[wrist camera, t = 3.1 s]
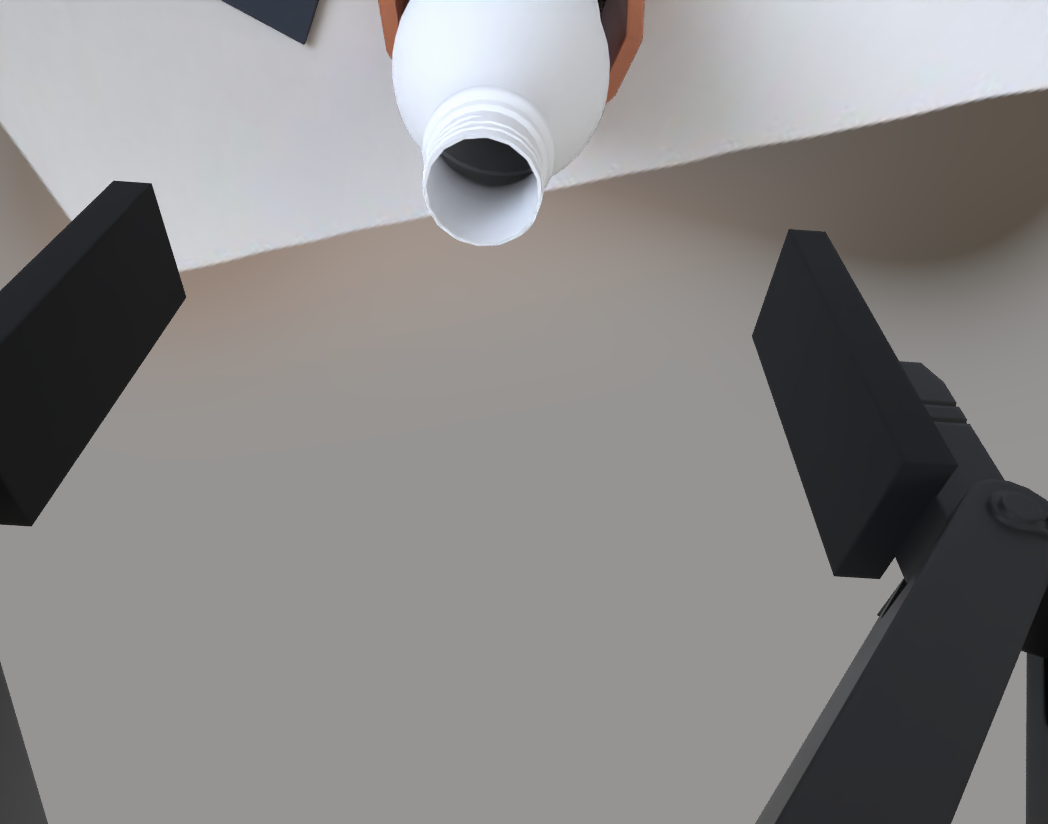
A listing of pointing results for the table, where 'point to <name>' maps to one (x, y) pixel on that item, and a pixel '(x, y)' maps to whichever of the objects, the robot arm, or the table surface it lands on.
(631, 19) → the terracotta flower pot
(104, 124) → the table surface
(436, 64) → the water bottle
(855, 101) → the table surface
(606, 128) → the table surface
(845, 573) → the robot arm
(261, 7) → the mat
